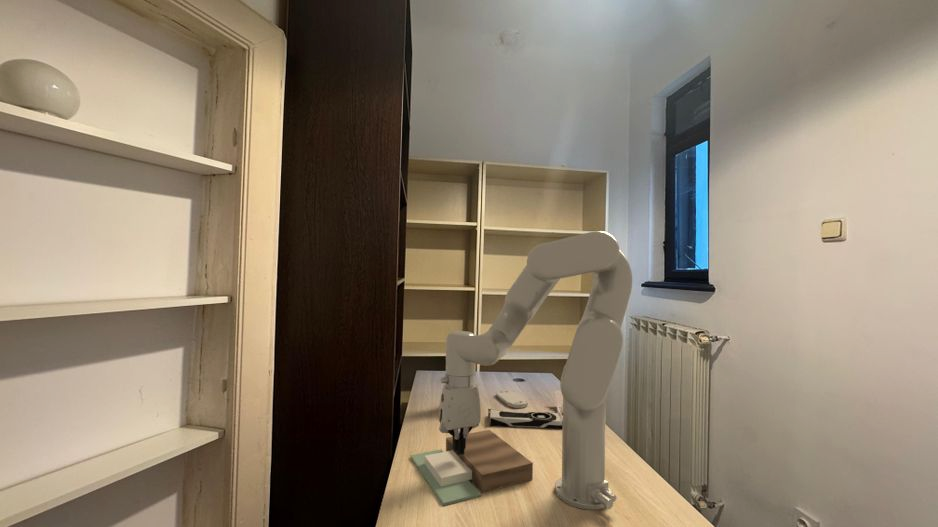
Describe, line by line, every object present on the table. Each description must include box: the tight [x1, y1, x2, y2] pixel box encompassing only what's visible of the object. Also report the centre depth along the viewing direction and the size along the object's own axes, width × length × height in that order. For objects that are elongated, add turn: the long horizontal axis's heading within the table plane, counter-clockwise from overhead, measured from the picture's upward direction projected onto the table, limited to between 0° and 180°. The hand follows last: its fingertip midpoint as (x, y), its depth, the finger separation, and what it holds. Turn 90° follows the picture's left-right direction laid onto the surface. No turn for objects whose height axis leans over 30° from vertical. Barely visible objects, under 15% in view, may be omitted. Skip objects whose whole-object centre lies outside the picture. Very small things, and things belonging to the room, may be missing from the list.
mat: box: [410, 448, 481, 507], centre depth 95 cm, size 24×9×1 cm, turn 26°
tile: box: [424, 450, 472, 487], centre depth 96 cm, size 12×8×2 cm, turn 26°
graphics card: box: [487, 408, 562, 430], centre depth 130 cm, size 10×3×25 cm
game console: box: [495, 389, 529, 409], centre depth 153 cm, size 18×2×8 cm
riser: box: [445, 429, 534, 493], centre depth 101 cm, size 22×14×4 cm, turn 26°
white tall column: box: [553, 390, 563, 423], centre depth 137 cm, size 6×6×25 cm
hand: (458, 452), depth 98 cm, fingers closed
